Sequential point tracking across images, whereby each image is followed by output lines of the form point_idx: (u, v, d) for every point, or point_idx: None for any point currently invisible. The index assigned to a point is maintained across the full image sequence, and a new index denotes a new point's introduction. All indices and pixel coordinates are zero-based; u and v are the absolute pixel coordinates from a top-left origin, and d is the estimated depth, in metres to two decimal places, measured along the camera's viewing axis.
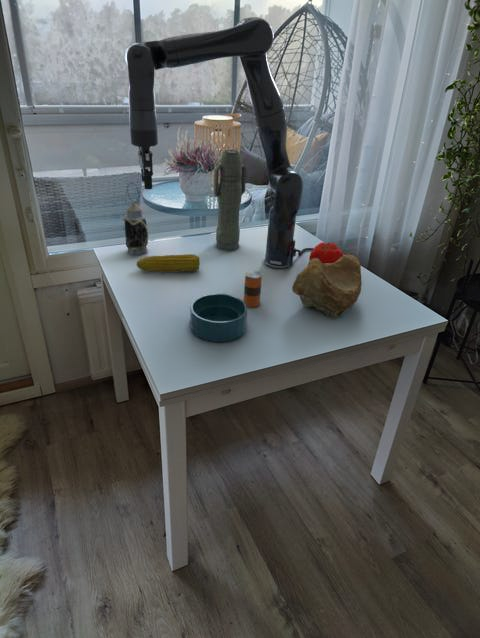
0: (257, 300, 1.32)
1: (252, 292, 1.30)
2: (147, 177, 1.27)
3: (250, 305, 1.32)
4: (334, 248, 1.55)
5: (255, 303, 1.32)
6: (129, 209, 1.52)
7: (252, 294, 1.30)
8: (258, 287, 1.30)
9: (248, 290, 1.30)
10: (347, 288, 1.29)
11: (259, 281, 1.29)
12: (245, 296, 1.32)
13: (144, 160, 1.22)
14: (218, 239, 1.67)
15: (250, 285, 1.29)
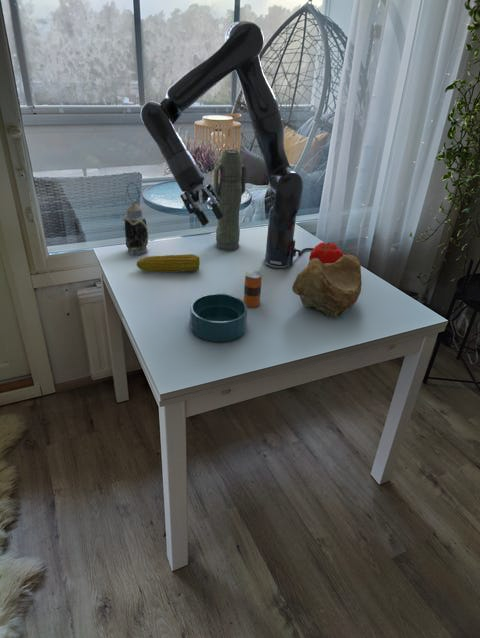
0: (257, 300, 1.32)
1: (252, 292, 1.30)
2: (197, 214, 1.24)
3: (250, 305, 1.32)
4: (334, 248, 1.55)
5: (255, 303, 1.32)
6: (129, 209, 1.52)
7: (252, 294, 1.30)
8: (258, 287, 1.30)
9: (248, 290, 1.30)
10: (347, 288, 1.29)
11: (259, 281, 1.29)
12: (245, 296, 1.32)
13: (183, 200, 1.23)
14: (218, 239, 1.67)
15: (250, 285, 1.29)
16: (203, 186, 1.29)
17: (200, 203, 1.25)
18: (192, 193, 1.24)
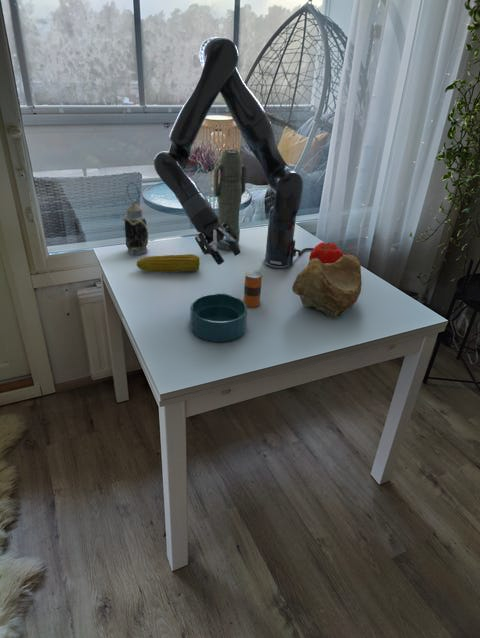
0: (257, 300, 1.32)
1: (252, 292, 1.30)
2: (212, 254, 1.28)
3: (250, 305, 1.32)
4: (334, 248, 1.55)
5: (255, 303, 1.32)
6: (129, 209, 1.52)
7: (252, 294, 1.30)
8: (258, 287, 1.30)
9: (248, 290, 1.30)
10: (347, 288, 1.29)
11: (259, 281, 1.29)
12: (245, 296, 1.32)
13: (197, 242, 1.27)
14: None
15: (250, 285, 1.29)
16: (218, 225, 1.32)
17: (214, 243, 1.28)
18: (206, 234, 1.28)
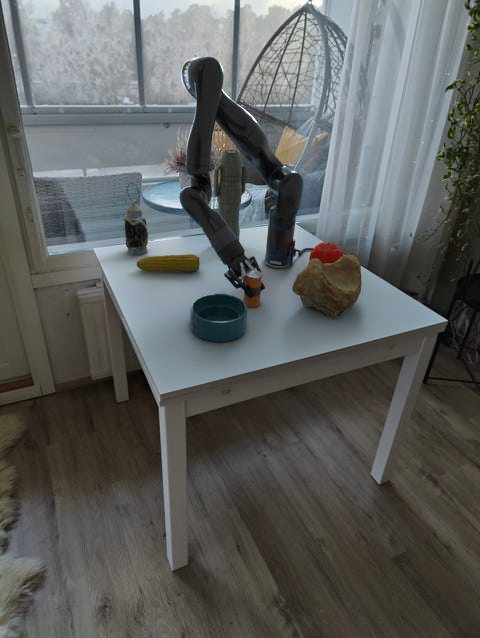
0: (257, 300, 1.32)
1: None
2: (243, 288, 1.29)
3: (250, 305, 1.32)
4: (334, 248, 1.55)
5: (255, 303, 1.32)
6: (129, 209, 1.52)
7: None
8: (258, 287, 1.30)
9: None
10: (347, 288, 1.29)
11: (259, 281, 1.29)
12: (245, 296, 1.32)
13: (228, 278, 1.27)
14: None
15: (250, 285, 1.29)
16: (244, 257, 1.32)
17: (244, 277, 1.28)
18: (233, 268, 1.28)
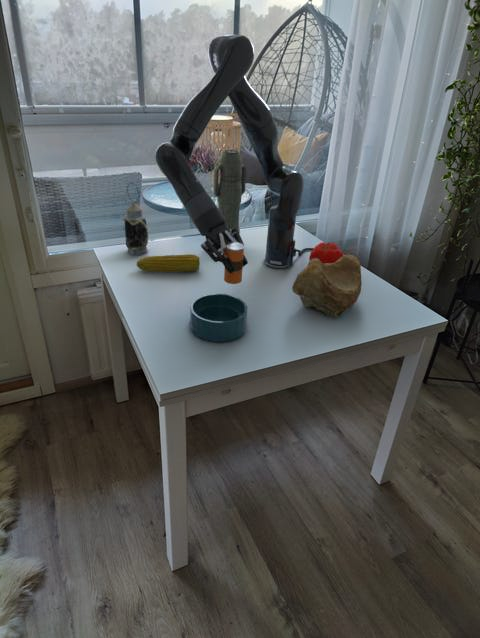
0: (239, 276, 1.18)
1: None
2: (223, 261, 1.15)
3: (231, 281, 1.18)
4: (334, 248, 1.55)
5: (237, 279, 1.18)
6: (129, 209, 1.52)
7: None
8: (240, 261, 1.16)
9: None
10: (347, 288, 1.29)
11: (241, 254, 1.15)
12: (225, 271, 1.18)
13: (205, 250, 1.13)
14: None
15: (231, 258, 1.15)
16: (225, 228, 1.18)
17: (224, 249, 1.14)
18: (211, 238, 1.14)
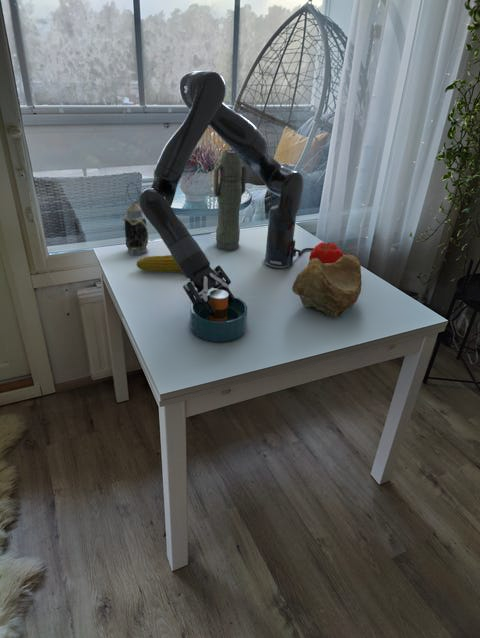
0: None
1: (217, 314, 1.17)
2: (202, 304, 1.14)
3: None
4: (334, 248, 1.55)
5: None
6: (129, 209, 1.52)
7: (218, 316, 1.18)
8: (224, 308, 1.17)
9: None
10: (347, 288, 1.29)
11: (225, 302, 1.16)
12: (210, 318, 1.19)
13: (186, 291, 1.13)
14: (218, 239, 1.67)
15: (215, 306, 1.16)
16: (210, 270, 1.19)
17: (205, 292, 1.14)
18: (196, 282, 1.14)
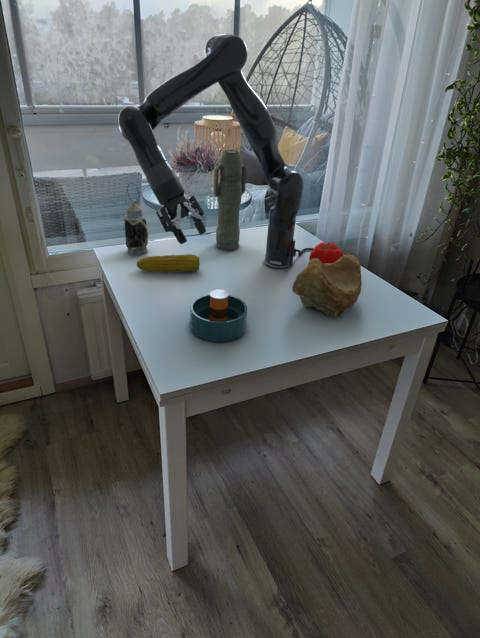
0: None
1: (217, 314, 1.17)
2: (174, 232, 1.16)
3: None
4: (334, 248, 1.55)
5: None
6: (129, 209, 1.52)
7: (218, 316, 1.18)
8: (224, 308, 1.17)
9: (213, 312, 1.17)
10: (347, 288, 1.29)
11: (225, 302, 1.16)
12: (210, 318, 1.19)
13: (159, 217, 1.15)
14: (218, 239, 1.67)
15: (215, 306, 1.16)
16: (184, 199, 1.20)
17: (178, 220, 1.16)
18: (169, 209, 1.15)
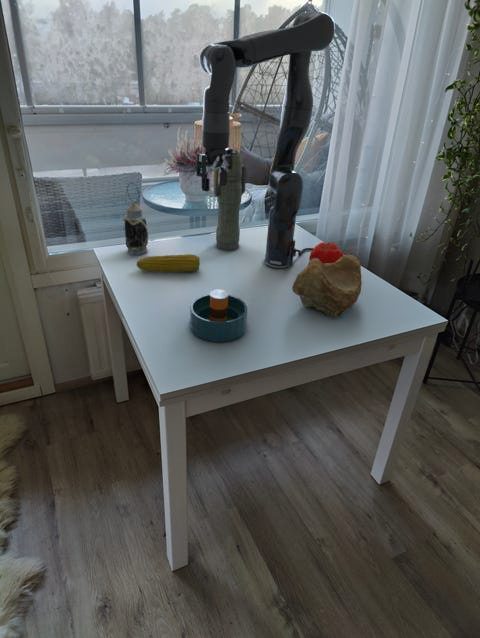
0: None
1: (217, 314, 1.17)
2: (203, 178, 1.25)
3: None
4: (334, 248, 1.55)
5: None
6: (129, 209, 1.52)
7: (218, 316, 1.18)
8: (224, 308, 1.17)
9: (213, 312, 1.17)
10: (347, 288, 1.29)
11: (225, 302, 1.16)
12: (210, 318, 1.19)
13: (197, 160, 1.22)
14: (218, 239, 1.67)
15: (215, 306, 1.16)
16: (223, 151, 1.27)
17: (211, 171, 1.25)
18: (209, 158, 1.23)
